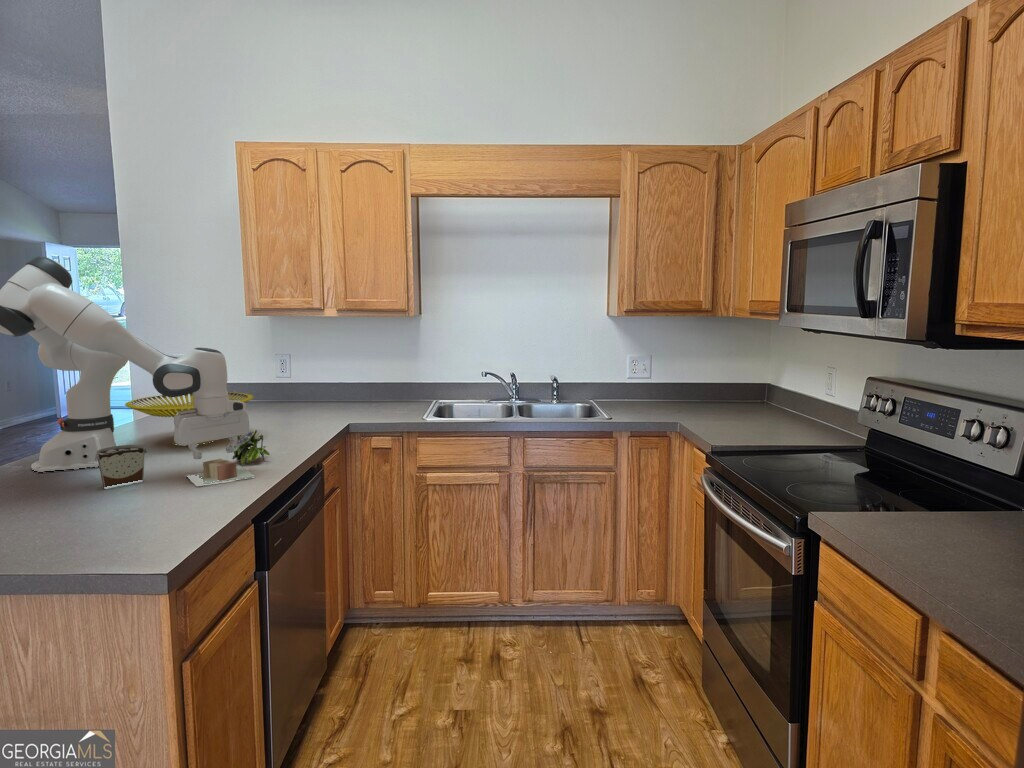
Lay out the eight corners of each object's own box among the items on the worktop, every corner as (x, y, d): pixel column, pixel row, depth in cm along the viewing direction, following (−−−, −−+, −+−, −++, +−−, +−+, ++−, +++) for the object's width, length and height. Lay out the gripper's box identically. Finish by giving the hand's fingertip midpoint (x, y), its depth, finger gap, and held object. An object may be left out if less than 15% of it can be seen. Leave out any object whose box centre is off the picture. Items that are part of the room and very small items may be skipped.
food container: (140, 477, 181) (137, 442, 179) (149, 481, 177) (146, 445, 176) (90, 486, 171) (86, 450, 170) (98, 491, 167) (95, 453, 166)
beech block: (203, 476, 180) (220, 480, 175) (202, 462, 179) (219, 466, 174) (220, 472, 184) (236, 476, 179) (219, 458, 183) (236, 462, 179)
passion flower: (240, 477, 200) (238, 442, 205) (276, 470, 202) (273, 435, 207) (226, 465, 190) (225, 428, 195) (264, 457, 192) (261, 421, 197)
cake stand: (207, 458, 203) (204, 411, 201) (98, 452, 211) (94, 406, 209) (278, 432, 242) (276, 393, 240) (183, 428, 250) (181, 390, 248)
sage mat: (196, 487, 171) (196, 485, 171) (185, 477, 181) (185, 475, 181) (255, 478, 180) (255, 476, 180) (241, 468, 190) (241, 466, 190)
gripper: (179, 412, 168) (182, 464, 170) (251, 403, 184) (253, 450, 186) (167, 410, 171) (170, 461, 173) (238, 400, 188) (241, 447, 190)
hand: (214, 455), depth 180 cm, fingers open, 8 cm apart
